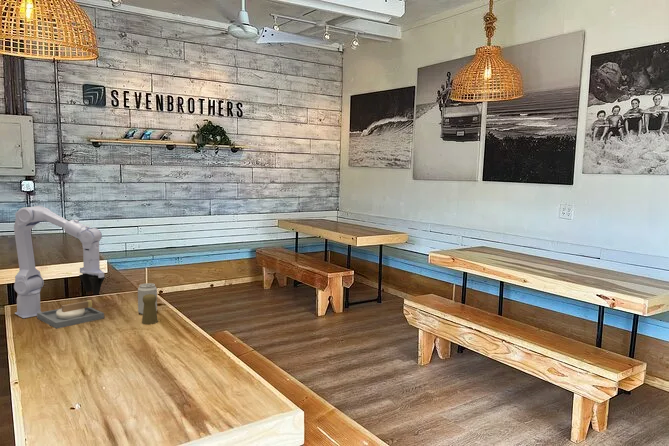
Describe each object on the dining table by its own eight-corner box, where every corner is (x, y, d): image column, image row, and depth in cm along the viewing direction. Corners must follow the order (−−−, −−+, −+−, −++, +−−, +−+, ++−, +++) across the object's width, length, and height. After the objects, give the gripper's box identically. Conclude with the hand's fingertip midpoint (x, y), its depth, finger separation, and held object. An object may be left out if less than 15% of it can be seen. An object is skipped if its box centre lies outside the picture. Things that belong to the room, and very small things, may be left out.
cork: (160, 320, 200) (160, 293, 199) (153, 324, 194) (153, 297, 193) (146, 319, 201) (145, 292, 200) (138, 323, 195) (138, 296, 194)
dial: (52, 315, 198) (51, 304, 198) (85, 308, 209) (85, 298, 208) (62, 320, 192) (62, 309, 192) (97, 313, 202) (96, 302, 202)
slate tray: (37, 318, 198) (37, 313, 198) (83, 309, 212) (83, 304, 212) (56, 328, 187) (56, 322, 186) (104, 318, 201) (104, 312, 200)
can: (153, 315, 206) (152, 287, 204) (135, 314, 206) (134, 286, 205) (159, 310, 213) (159, 282, 212) (142, 309, 213) (141, 282, 212)
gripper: (71, 258, 198) (72, 291, 200) (91, 263, 190) (92, 297, 192) (89, 255, 204) (90, 288, 206) (109, 260, 196) (109, 294, 197)
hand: (92, 292), depth 199 cm, fingers open, 5 cm apart
